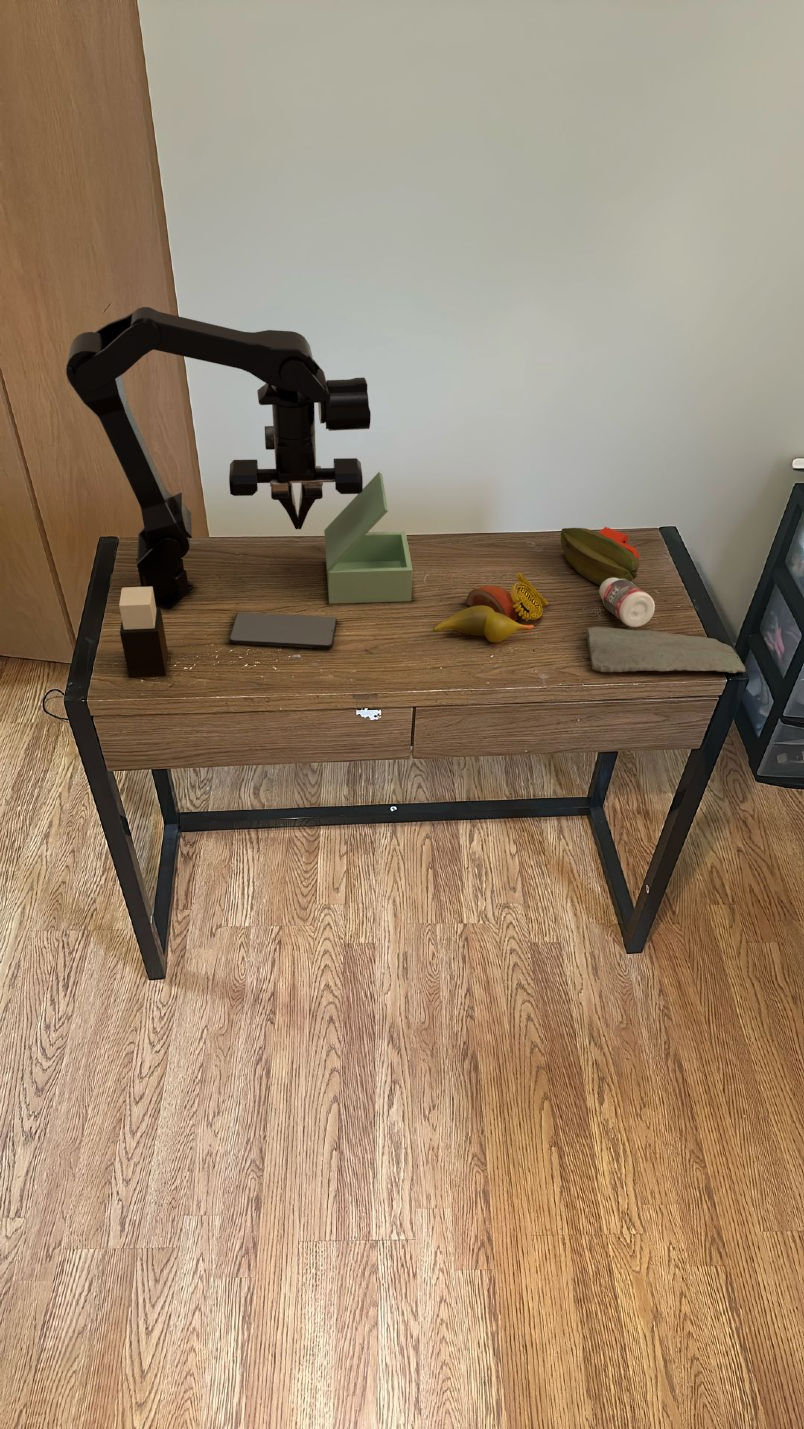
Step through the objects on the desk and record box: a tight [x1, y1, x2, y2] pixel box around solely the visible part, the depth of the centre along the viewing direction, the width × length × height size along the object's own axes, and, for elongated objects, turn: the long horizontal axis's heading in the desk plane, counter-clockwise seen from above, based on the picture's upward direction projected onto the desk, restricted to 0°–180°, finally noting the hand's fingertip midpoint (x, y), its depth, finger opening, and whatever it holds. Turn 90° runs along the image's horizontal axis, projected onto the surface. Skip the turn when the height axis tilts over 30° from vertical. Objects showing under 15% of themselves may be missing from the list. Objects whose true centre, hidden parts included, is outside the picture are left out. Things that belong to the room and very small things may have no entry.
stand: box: [119, 607, 169, 679], centre depth 133 cm, size 5×5×8 cm
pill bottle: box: [598, 578, 656, 628], centre depth 145 cm, size 5×5×10 cm
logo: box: [509, 572, 549, 622], centre depth 145 cm, size 7×1×8 cm
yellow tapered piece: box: [432, 605, 535, 643], centre depth 141 cm, size 4×15×6 cm
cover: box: [323, 471, 389, 571], centre depth 144 cm, size 13×11×1 cm
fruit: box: [560, 527, 640, 587], centre depth 153 cm, size 11×12×7 cm
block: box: [118, 586, 157, 630], centre depth 129 cm, size 4×4×4 cm
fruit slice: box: [465, 585, 519, 622], centre depth 146 cm, size 8×7×5 cm
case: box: [325, 531, 414, 605], centre depth 150 cm, size 13×11×6 cm
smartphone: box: [228, 611, 338, 650], centre depth 141 cm, size 7×1×15 cm
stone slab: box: [585, 626, 747, 674], centre depth 141 cm, size 22×3×10 cm
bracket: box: [583, 526, 640, 562], centre depth 159 cm, size 12×4×5 cm
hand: (298, 527), depth 144 cm, fingers closed
